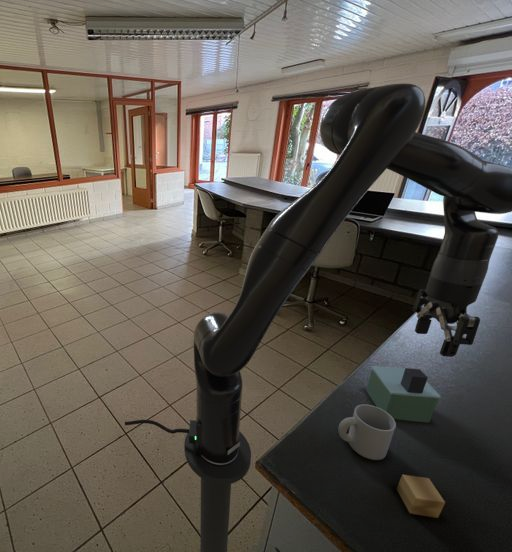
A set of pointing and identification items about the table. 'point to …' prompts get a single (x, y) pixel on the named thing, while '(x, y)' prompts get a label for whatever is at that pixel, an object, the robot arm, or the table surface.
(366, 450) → the cup
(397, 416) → the display box
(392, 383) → the teal box lid
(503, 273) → the table surface
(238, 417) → the robot arm
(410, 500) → the block
